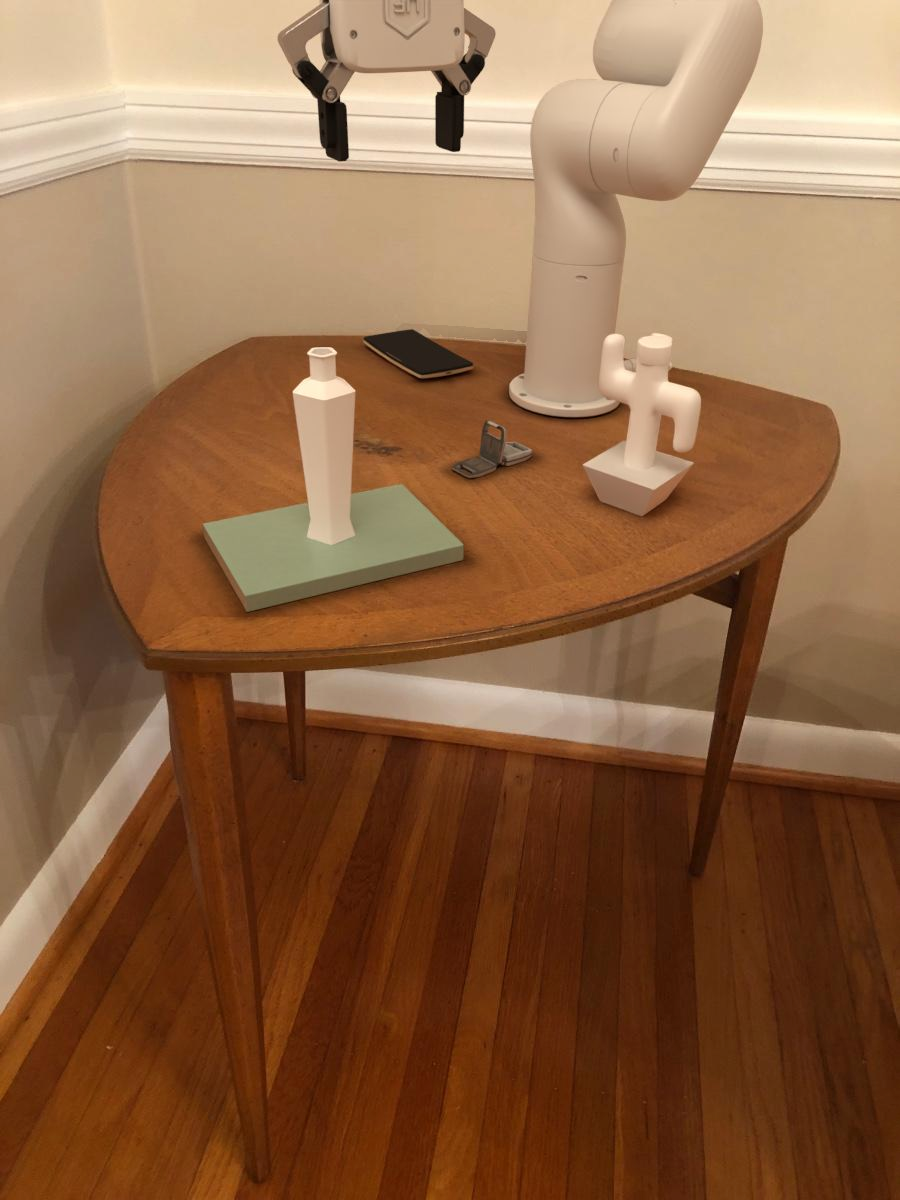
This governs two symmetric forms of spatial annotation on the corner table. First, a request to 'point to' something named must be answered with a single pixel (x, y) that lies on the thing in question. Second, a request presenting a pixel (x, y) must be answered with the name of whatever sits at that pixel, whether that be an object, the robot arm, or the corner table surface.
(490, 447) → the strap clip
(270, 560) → the tile slab
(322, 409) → the white faceted vase
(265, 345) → the corner table surface
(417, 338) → the smartphone
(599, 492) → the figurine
